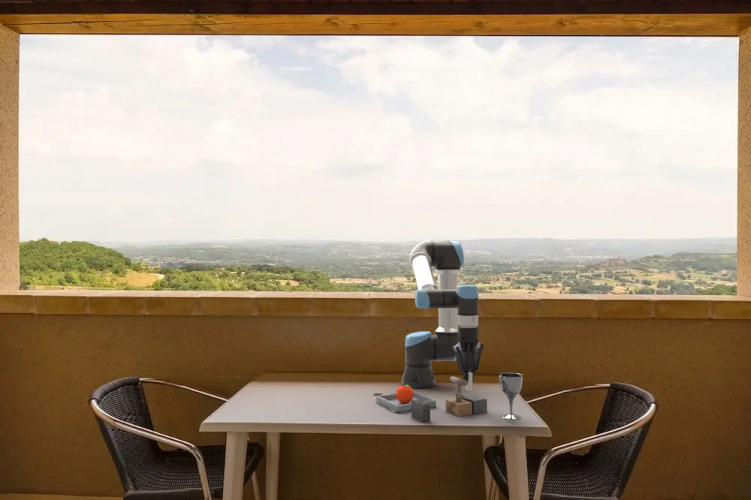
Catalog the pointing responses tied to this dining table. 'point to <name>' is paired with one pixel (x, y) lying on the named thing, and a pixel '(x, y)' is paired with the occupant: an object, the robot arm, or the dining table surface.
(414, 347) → the robot arm
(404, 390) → the clementine
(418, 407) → the frame
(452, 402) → the slider
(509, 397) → the wine glass
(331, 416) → the dining table surface
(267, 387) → the dining table surface
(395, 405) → the tray
